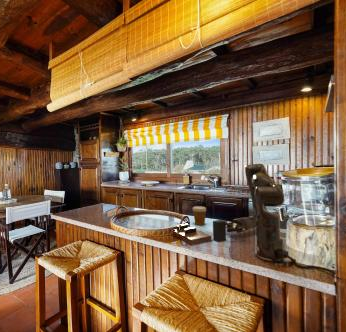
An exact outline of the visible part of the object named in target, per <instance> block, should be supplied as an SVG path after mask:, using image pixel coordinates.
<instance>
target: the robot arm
mask: <svg viewBox="0 0 346 332" xmlns="http://www.w3.org/2000/svg"><path fill="white" fill-rule="evenodd" d="M244 174H245V179H246V182H247V186H248V189H249V193H250V197H251V203H252V204H251V205H252V209H253V211H254V212H255V214H252V215H250V216H247V217H239V218H234V219H232V221H227V220H224V221H225V222H226V233H237V234H239V233H244V232H246V231H249V230H252V229H255V233H256V234H255V236H256V241H255V243H256V244H255V249H256V257H257V258H259V259H261V260H263V261H266V262H271V263H274V264H275V263H278V262H282V261H284V259H289V260H290V261H291V262H292V264H293V265H294V266H296V267H298V268H301V269H318V270H323V271H325V272H326V271H327V272H329V273H331V274H333V275H334V276H335V271H334V270H333V269H331V268H326V267H323V266H318V265H313V264H312V265H311V264H310V265H309V264H308V265H303V264H299V263H297V262H296V260H295V259H294V258H293V257H291V256H290V255H289V251H287V250H285V249H284V240H283V239H282V238H281V217H280V215H279V214H276V213H274V212H271V211H268V209H267V207H271V208H277V207H282V206H283V204H284V203H285V195H284V192H283V190H282V188H281V187H280V186H279V185H277V183H275V182H274V180H273V178H272V177H271V176H270V175H269V173H268V171H267V169H266V166H265V165H264V164H263V163H253V164H252V163H251V164H246V165H245V166H244Z"/></svg>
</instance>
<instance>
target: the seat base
mask: <svg viewBox="0 0 346 332" xmlns="http://www.w3.org/2000/svg"><path fill="white" fill-rule="evenodd" d="M179 225H181V227H180V230H179ZM179 225H176V226H175V227H176V229H174V230H175V231H174V233H173V232H172V236H174V237H175V238H177V239H179V240H181V241H183V242H185V243H187V244H189V245H190V246H194V245H195V246H196V245H198V244H199V245H200V244H204V243H208V242H212V235H211V234H208V233H206V232H203V231H201V230H198V229H197V227H195V226H194V227H192V226H189V224H188V223H185V224H179Z"/></svg>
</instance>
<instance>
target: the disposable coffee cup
mask: <svg viewBox="0 0 346 332" xmlns="http://www.w3.org/2000/svg"><path fill="white" fill-rule="evenodd" d="M192 212H193V218H194V224H195V225H197V226H205V223H206V212H207V208H206V206H201V205H195V206H193V207H192Z"/></svg>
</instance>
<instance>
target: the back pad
mask: <svg viewBox="0 0 346 332" xmlns="http://www.w3.org/2000/svg"><path fill="white" fill-rule="evenodd" d="M225 221H226V220H223V219H217V220H212V240H213V241H215V242H216V243H219V242H223V241H227V228H226V227H227V225H226V222H225Z"/></svg>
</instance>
